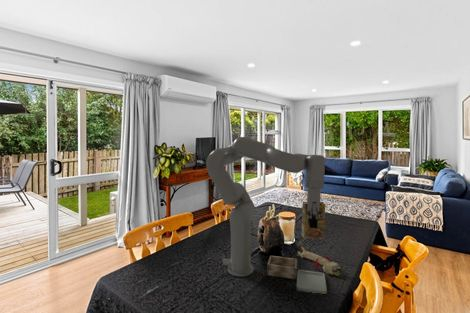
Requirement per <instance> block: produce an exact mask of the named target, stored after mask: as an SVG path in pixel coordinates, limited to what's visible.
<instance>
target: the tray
mask: <svg viewBox="0 0 470 313" xmlns="http://www.w3.org/2000/svg"><path fill="white" fill-rule="evenodd" d="M325 275H326V273H324V272H320V271H313V270H307V269H306V270H305V269H298V268H297V274H296V291H298V292H303V293H310V292H312V293H311V294H316V293H322V294H327V295H328V291H327V284H326V283H327V282H326V276H325ZM322 294H321V295H322Z"/></svg>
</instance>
